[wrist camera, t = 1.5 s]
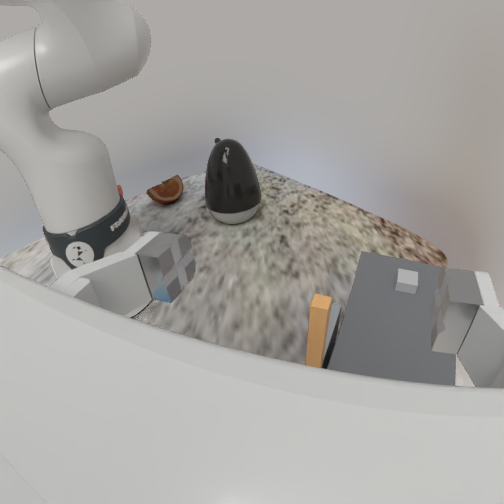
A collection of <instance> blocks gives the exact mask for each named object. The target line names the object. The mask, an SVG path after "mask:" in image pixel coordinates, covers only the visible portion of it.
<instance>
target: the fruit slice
mask: <svg viewBox="0 0 504 504" xmlns="http://www.w3.org/2000/svg"><path fill="white" fill-rule="evenodd" d="M182 191H183V183H182V181H181V179H180V177H179V176H178V175H176V176H174V177H173V178H171V179H168V180H166V181H164V182H162V184H161V185H157V186H155V187H152V188H151V189H148V190H147V194H148V195H149V197H150V198H151V199H152V200H154V201H156V202H159V203H171V202H174V201H175V200H177V199H178V198H179V197H180V195H181V194H182Z"/></svg>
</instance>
